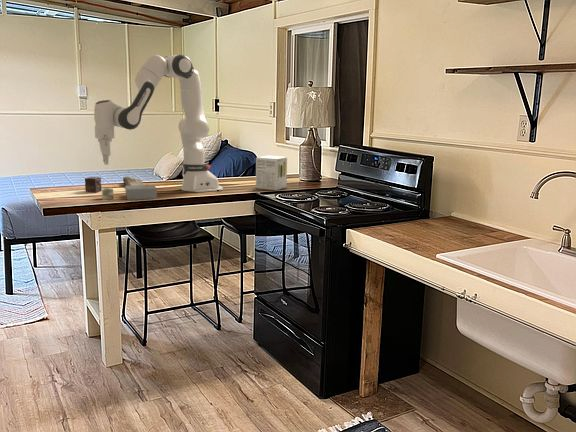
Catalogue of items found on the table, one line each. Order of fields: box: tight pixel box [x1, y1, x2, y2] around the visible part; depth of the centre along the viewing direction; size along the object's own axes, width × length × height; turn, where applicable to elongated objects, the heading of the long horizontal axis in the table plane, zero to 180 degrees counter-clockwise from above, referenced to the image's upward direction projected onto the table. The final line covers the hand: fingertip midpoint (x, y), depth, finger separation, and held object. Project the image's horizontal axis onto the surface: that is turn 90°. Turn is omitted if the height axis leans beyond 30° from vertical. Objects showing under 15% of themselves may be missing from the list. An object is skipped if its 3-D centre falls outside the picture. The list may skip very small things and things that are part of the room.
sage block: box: [101, 187, 114, 201], centre depth 275 cm, size 5×5×5 cm
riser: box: [124, 184, 158, 201], centre depth 281 cm, size 14×12×5 cm
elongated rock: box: [122, 176, 145, 186], centre depth 310 cm, size 35×5×10 cm
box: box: [84, 176, 102, 194], centre depth 293 cm, size 6×6×7 cm
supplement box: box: [255, 155, 288, 191], centre depth 315 cm, size 13×13×18 cm
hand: (105, 163), depth 272 cm, fingers open, 8 cm apart
